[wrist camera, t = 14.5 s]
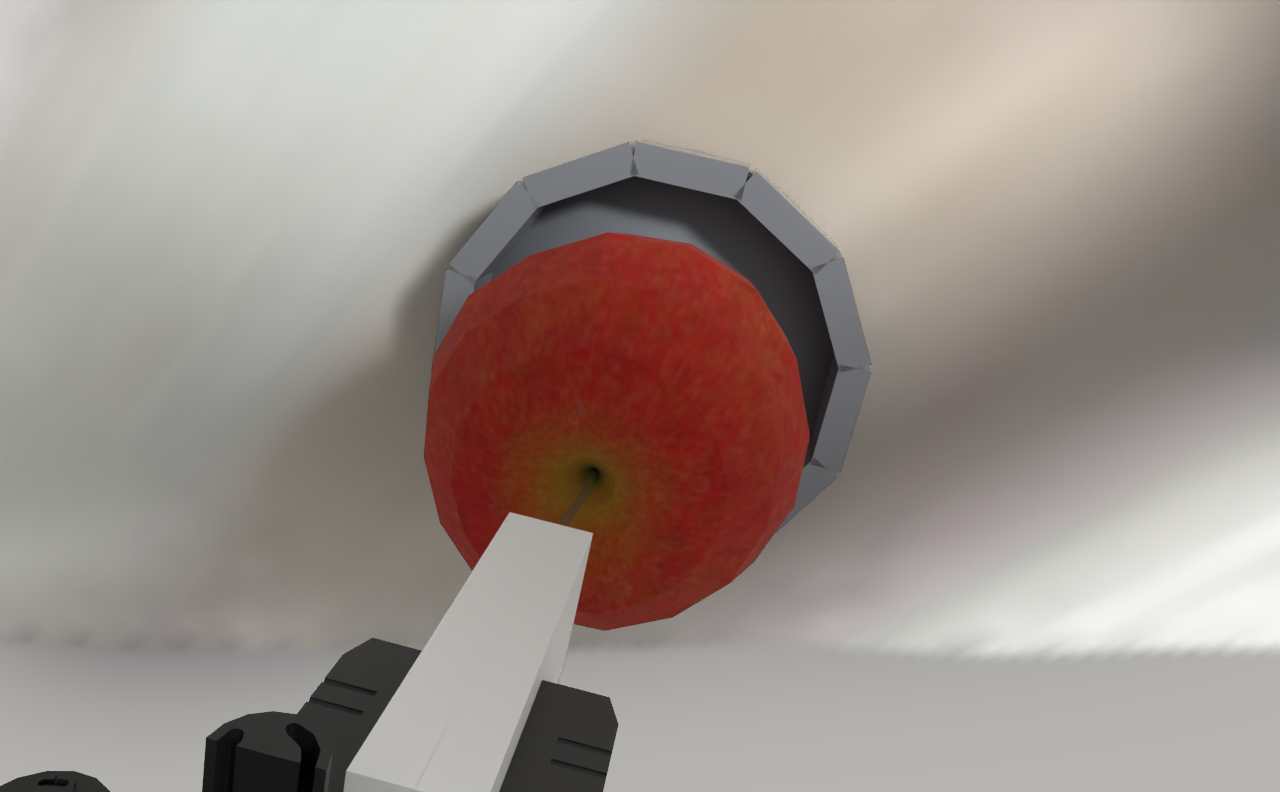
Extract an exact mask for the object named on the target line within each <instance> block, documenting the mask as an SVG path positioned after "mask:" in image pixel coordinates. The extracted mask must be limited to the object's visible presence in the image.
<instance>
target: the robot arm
mask: <svg viewBox="0 0 1280 792" xmlns="http://www.w3.org/2000/svg"><path fill="white" fill-rule="evenodd" d="M592 536H593V533H591V532H587V531H583V530H579V529H575V528H571V527H567V526H563V525H559V524H555V523H551V522H547V521H543V520H539V519H535V518H531V517H527V516H523V515H519V514H515V513H511V512H509V514H508V516H507V517H506V519H505V520H504V522H503V523H502V525H501V527H500V528H499V530H498V531H497V533H496V535H495V536H494V538H493V539H492V541H491V542H490V544H489V546H488V547H487V549H486V550H485V552H484V554H483V555H482V557H481V558H480V560H479V561H478V563H477V565H476V566H475V568H474V569H473V571H472V573H471V574H470V576H469V577H468V579H467V580H466V582H465V584H464V585H463V587H462V588H461V590H460V591H459V593H458V595H457V596H456V598H455V599H454V601H453V603H452V604H451V606H450V607H449V609H448V610H447V612H446V614H445V615H444V617H443V618H442V620H441V622H440V623H439V625H438V626H437V628H436V629H435V631H434V633H433V634H432V636H431V637H430V639H429V641H428V642H427V644H426V645H425V647H424V648H423V650H422V651H421V650H417V649H413V648H409V647H405V646H401V645H398V644H394V643H390V642H386V641H382V640H379V639H375V638H372V639H370V640H368V641H366V642H364V643H363V644H361V645H359V646H357V647H356V648H354V649H352V650H350V651H349V652H347V653H345V654H343V655H342V657H341V658H340V659H339V661H338V662H337V663H336V664H335V666H334V667H333V668H332V670H331V671H330V672H329V674H328V675H327V676H326V678H325V680H324V682H323V683H321V684H320V685H319V686H318V688H317V689H316V690H315V692H314V693H313V694H312V695H311V697H310V700H309V702H306V703H305V704H304V706H303V707H302V708H301V710H300V711H299V712H298V713H297V714H289V713H282V712H273V711H272V712H264V713H256V714H248V715H245V716H243V717H240V718H238V719H235V720H232V721H230V722H227V723H225V724H223V725H222V726H221V727H219V728H218V729H217V730H216V731H214V732H213V733H212V734H211V735H209V736H208V737H207V738H206V749H205V761H204V777H203V789H202V792H603V788H604V784H605V779H606V775H607V771H608V767H609V762H610V758H611V754H612V749H613V745H614V741H615V736H616V732H617V728H618V722H617V719H616V716H615V713H614V710H613V707H612V704H611V701H610V698H609V697H606V696H602V695H598V694H594V693H590V692H586V691H583V690H579V689H575V688H571V687H567V686H564V685H560V684H558V682H559V679H560V676H561V673H562V671H563V668H564V664H565V660H566V656H567V651H568V646H569V642H570V637H571V633H572V628H573V624H574V619H575V614H576V610H577V605H578V601H579V596H580V591H581V587H582V582H583V578H584V573H585V569H586V564H587V559H588V555H589V550H590V546H591V541H592ZM0 792H110V791H109V790H108V789H107V788H106V787H105V786H104V785H103V784H102V783H101V782H99V780H97V779H96V778H94V777H91V776H87V775H84V774H81V773H78V772H74V771H46V772H41V773H37V774H33V775H28V776H25V777H20V778H17V779H14V780H12V781H11V782H8V783H6V784H4V785H2V786H0Z"/></svg>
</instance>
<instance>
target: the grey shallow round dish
mask: <svg viewBox="0 0 1280 792" xmlns="http://www.w3.org/2000/svg"><path fill="white" fill-rule="evenodd" d="M749 167H750V164H747V163H743V162H738V161H734V160H729V159H725V158H721V157H717V156H714V155H711V154H707V153H704V152H701V151H695V150H689V149H683V148H677V147H672V146H668V145H664V144H659V143H655V142H650V141H646V140H643V141H638V142H637V141H632V142H627V143H624V144H621V145H619V146H616V147H613V148H610V149H607V150H604V151H601V152H598V153H595V154H592V155H589V156H586V157H583V158H580V159H577V160H574V161H571V162H568V163H565V164H562V165H559V166H556V167H553V168H550V169H547V170H544V171H541V172H538V173H535V174H532V175H529V176H526V177H523V180H522V181H518V182H516V183H515V184H514V186H513V187H512V188H511V189H510V190H509V192H508V193H507V194H506V195H505V196H504V198H503V199H502V200H501V201H500V203H499V204H498V205H497V206H496V207H495V209H494V210H493V211H492V212H491V213H490V215H489V216H488V217H487V218H486V219H485V221H484V222H483V223H482V224H481V226H480V227H479V228H478V229H477V230H476V232H475V233H474V234H473V235H472V236H471V238H470V239H469V240H468V241H467V242H466V244H465V245H464V246H463V247H462V248H461V250H460V251H459V252H458V253H457V255H456V256H455V257H454V258H453V259H452V261H451V262H450V263H449V264H450V265H451V266H452V268H450V269H448V270H446V274H445V281H444V288H443V295H442V302H441V309H440V315H439V322H438V329H437V336H436V343H435V350H434V355H435V353H436V351H437V349H438V348H439V346H440V344H441V342H442V341H443V339H444V337H445V336H446V334H447V332H448V330H449V329H450V327H451V325H452V323H453V322H454V320H455V318H456V316H457V315H458V313H459V311H460V310H461V308H462V306H463V304H464V303H465V301H466V299H467V297H468V296H469V295H470V294H472V293H473V292H475V291H476V290H478V289H479V288H481V287H482V286H484V285H485V284H487V283H488V282H490V281H492V280H493V279H495V278H496V277H498V276H499V275H501V274H502V273H504V272H505V271H507V270H508V269H510V268H511V267H513V266H514V265H516V264H517V263H519V262H520V261H522V260H523V259H525V258H526V257H528V256H530V255H532V254H536V253H539V252H542V251H546V250H549V249H553V248H556V247H559V246H563V245H566V244H570V243H573V242H577V241H580V240H583V239H587V238H590V237H594V236H597V235H600V234H604V233H607V232H610V233H627V234H633V235H639V236H645V237H652V238H658V239H664V240H670V241H677V242H683V243H689V244H693V245H695V246H696V247H698V248H699V249H701V250H703V251H704V252H706V253H707V254H709V255H710V256H712V257H714V258H715V259H717V260H718V261H720V262H721V263H723V264H725V265H726V266H728V267H729V268H731V269H733V270H734V271H736V272H737V273H739V274H740V275H742V276H744V277H745V278H747V279H748V280H749V281H750V282H751V283H752V285H753V286H754V287H755V288H756V290H757V291H758V293H759V294H760V296H761V297H762V299H763V301H764V302H765V304H766V305H767V307H768V308H769V310H770V311H771V313H772V315H773V316H774V318H775V319H776V321H777V322H778V324H779V326H780V327H781V329H782V330H783V332H784V333H785V335H786V337H787V340H788V342H789V344H790V346H791V348H792V351H793V353H794V355H795V357H796V359H797V364H798V370H799V375H800V381H801V387H802V393H803V399H804V405H805V410H806V416H807V422H808V428H809V434H810V439H809V444H808V448H807V452H806V457H805V461H804V466H803V470H802V474H801V479H800V483H799V488H798V492H797V497H796V501H795V505H794V508H793V509H792V510H791V512H790V513H789V514H788V516H787V517H786V519H785V520H784V521H783V523H782V524H781V525H780V527H779V528H778V529H777V531H778V530H779V529H780V528H781V527H783V526H784V525H785V524H786V523H787V522H788V521H789V520H790V519H791V518H793V517H794V516H795V515H796V514H797V513H798V512H799V511H800V510H801V509H803V508H804V507H805V506H806V505H807V504H808V503H809V502H810V501H811V500H813V499H814V498H815V497H816V496H817V495H818V494H819V493H820V492H821V491H823V490H824V489H825V488H826V487H827V486H828V485H829V484H830V483H831V482H833V481H834V480H835V479H836V473H835V471H839V472H841V468H842V465H843V462H844V459H845V455H846V452H847V449H848V446H849V442H850V439H851V436H852V433H853V429H854V426H855V423H856V420H857V416H858V413H859V410H860V407H861V403H862V400H863V397H864V394H865V390H866V387H867V384H868V381H869V377H870V374H871V370H870V368H869V366H868V365H871V361H870V357H869V354H868V350H867V346H866V342H865V338H864V334H863V331H862V327H861V323H860V319H859V315H858V311H857V308H856V304H855V300H854V296H853V292H852V289H851V285H850V281H849V277H848V273H847V269H846V266H845V262H844V258H843V256H842V254H841V253H840V251H839V249H838V248H837V246H836V244H835V243H834V242H833V241H832V240H831V239H830V238H829V237H828V236H827V235H826V234H825V233H824V232H823V231H822V230H821V229H820V228H819V227H818V226H817V225H816V224H815V223H814V222H813V221H812V220H811V219H810V218H808V217H807V216H806V214H805V213H804V212H803V211H802V210H801V209H800V208H799V207H798V206H797V204H796V203H795V202H793V201H792V200H791V199H790V198H789V197H788V196H786V195H785V194H784V193H783V192H782V191H780V190H779V189H778V188H777V187H776V186H775V185H774V184H773V183H772V182H771V181H770V180H769V179H768V178H767V177H766V176H765V175H764V174H763V173H762V172H761V171H760V170H759V169H758V168H756V169H755V170H754V171H753V172H752V171H751V170H749ZM433 358H434V357H433ZM432 366H433V364H432ZM777 531H776V532H777ZM776 532H775V533H776Z"/></svg>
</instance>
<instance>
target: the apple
mask: <svg viewBox="0 0 1280 792" xmlns="http://www.w3.org/2000/svg"><path fill="white" fill-rule="evenodd" d="M809 439H810V434H809V428H808V422H807V416H806V410H805V405H804V399H803V393H802V387H801V381H800V375H799V370H798V364H797V359H796V357H795V355H794V353H793V351H792V348H791V346H790V344H789V342H788V340H787V337H786V335H785V333H784V332H783V330H782V329H781V327H780V326H779V324H778V322H777V321H776V319H775V318H774V316H773V315H772V313H771V311H770V310H769V308H768V307H767V305H766V304H765V302H764V301H763V299H762V297H761V296H760V294H759V293H758V291H757V290H756V288H755V287H754V286H753V285H752V283H751V282H750V281H749V280H748V279H747V278H745V277H744V276H742V275H740V274H739V273H737V272H736V271H734V270H733V269H731V268H729V267H728V266H726V265H725V264H723V263H721V262H720V261H718V260H717V259H715V258H714V257H712V256H710V255H709V254H707V253H706V252H704V251H703V250H701V249H699V248H698V247H696V246H695V245H693V244H689V243H683V242H677V241H670V240H664V239H658V238H652V237H645V236H639V235H633V234H627V233H610V232H607V233H604V234H600V235H597V236H594V237H590V238H587V239H583V240H580V241H577V242H573V243H570V244H566V245H563V246H559V247H556V248H553V249H549V250H546V251H542V252H539V253H536V254H532V255H530V256H528V257H526V258H525V259H523V260H522V261H520V262H519V263H517V264H516V265H514V266H513V267H511V268H510V269H508V270H507V271H505V272H504V273H502V274H501V275H499V276H498V277H496V278H495V279H493V280H492V281H490V282H488V283H487V284H485V285H484V286H482V287H481V288H479V289H478V290H476V291H475V292H473V293H472V294H470V295H469V296H468V297H467V299H466V301H465V303H464V304H463V306H462V308H461V310H460V311H459V313H458V315H457V316H456V318H455V320H454V322H453V323H452V325H451V327H450V329H449V330H448V332H447V334H446V336H445V337H444V339H443V341H442V342H441V344H440V346H439V348H438V349H437V351H436V353H435V355H434V358H433V366H432V374H431V381H430V389H429V400H428V413H427V425H426V438H425V450H424V459H425V463H426V467H427V471H428V475H429V479H430V483H431V487H432V491H433V495H434V499H435V503H436V507H437V511H438V515H439V520H440V523H441V525H442V526H443V528H444V529H445V531H446V532H447V534H448V535H449V537H450V538H451V540H452V541H453V543H454V544H455V546H456V547H457V549H458V550H459V552H460V553H461V555H462V556H463V558H464V559H465V561H466V562H467V564H468V565H469V567H470V568H471V570H472V571H473V569H474V568H475V566H476V565H477V563H478V561H479V560H480V558H481V557H482V555H483V554H484V552H485V550H486V549H487V547H488V546H489V544H490V542H491V541H492V539H493V538H494V536H495V535H496V533H497V531H498V530H499V528H500V527H501V525H502V523H503V522H504V520H505V519H506V517H507V516H508V514H509V512H511V513H515V514H519V515H523V516H527V517H531V518H535V519H539V520H543V521H547V522H551V523H555V524H559V525H563V526H567V527H571V528H575V529H579V530H583V531H587V532H591V533H593V536H592V541H591V546H590V550H589V555H588V559H587V564H586V569H585V573H584V578H583V582H582V587H581V591H580V596H579V601H578V605H577V610H576V614H575V619H574V624H576V625H581V626H586V627H590V628H595V629H599V630H604V631H605V630H610V629H615V628H620V627H625V626H631V625H636V624H641V623H646V622H651V621H656V620H661V619H666V618H671V617H674V616H676V615H677V614H679V613H681V612H682V611H684V610H686V609H687V608H689V607H691V606H692V605H694V604H696V603H697V602H699V601H701V600H702V599H704V598H706V597H707V596H709V595H711V594H712V593H714V592H716V591H717V590H719V589H721V588H722V587H724V586H726V585H727V584H729V583H730V582H732V581H733V580H734V579H735V578H736V577H737V576H738V575H739V574H741V573H742V572H743V571H744V570H745V569H746V568H747V567H749V566H750V565H751V564H752V563H753V562H754V561H755V560H756V558H757V557H758V555H759V554H760V553H761V551H762V550H763V549H764V547H765V546H766V544H767V543H768V542H769V540H770V539H771V538H772V536H773V535H774V534H775V532H776V531H777V529H778V528H779V527H780V525H781V524H782V523H783V521H784V520H785V519H786V517H787V516H788V514H789V513H790V512H791V510H792V509H793V508H794V505H795V501H796V497H797V492H798V488H799V483H800V479H801V474H802V470H803V466H804V461H805V457H806V452H807V448H808V444H809Z"/></svg>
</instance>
